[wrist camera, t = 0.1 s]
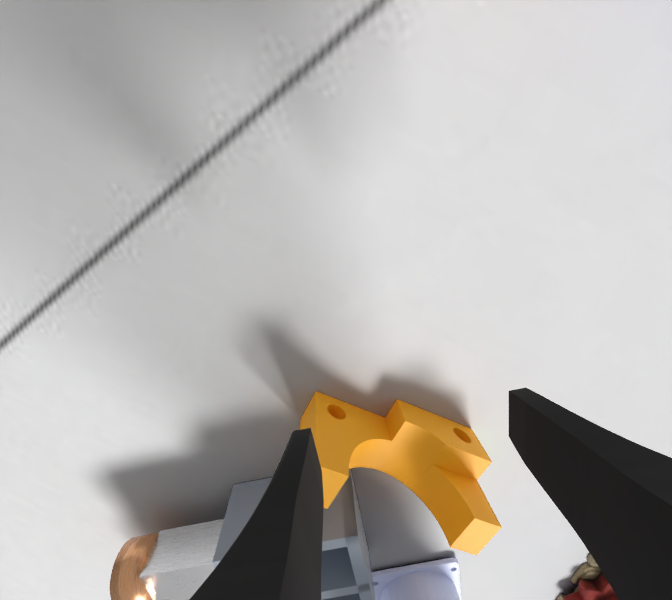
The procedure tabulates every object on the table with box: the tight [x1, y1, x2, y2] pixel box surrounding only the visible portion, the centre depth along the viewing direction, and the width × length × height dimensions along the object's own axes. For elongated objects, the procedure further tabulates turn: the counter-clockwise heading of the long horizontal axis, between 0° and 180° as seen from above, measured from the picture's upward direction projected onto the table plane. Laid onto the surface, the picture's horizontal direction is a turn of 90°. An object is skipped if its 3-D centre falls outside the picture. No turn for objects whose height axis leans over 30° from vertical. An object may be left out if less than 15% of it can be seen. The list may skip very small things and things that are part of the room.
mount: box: [212, 469, 376, 600], centre depth 25 cm, size 10×9×6 cm
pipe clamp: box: [300, 391, 501, 555], centre depth 21 cm, size 12×4×6 cm, turn 63°
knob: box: [110, 519, 224, 600], centre depth 23 cm, size 4×8×4 cm, turn 100°
